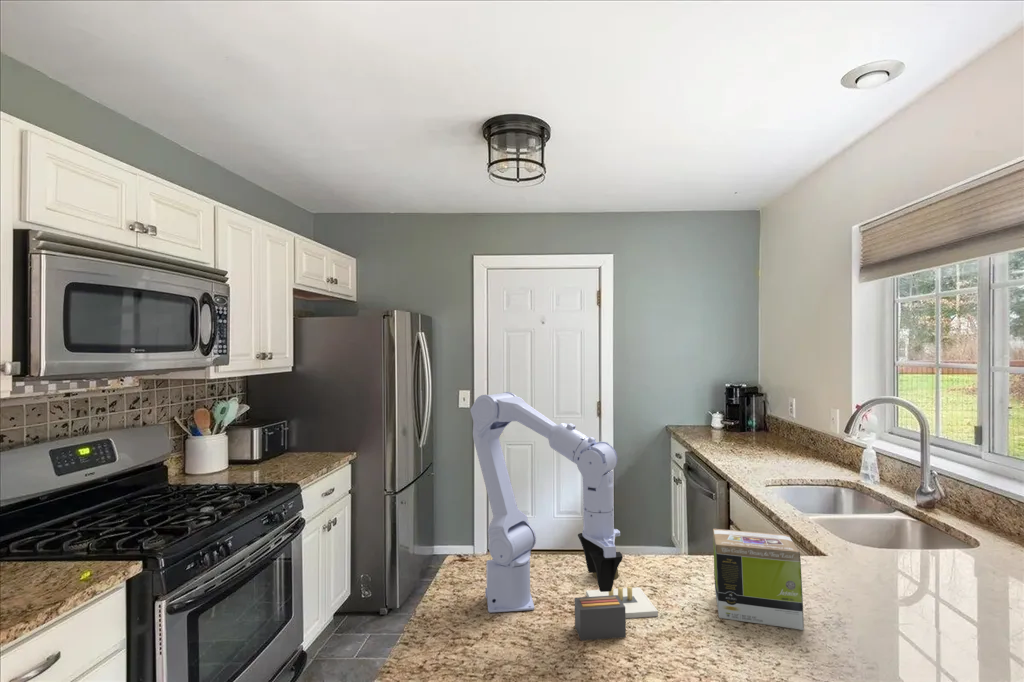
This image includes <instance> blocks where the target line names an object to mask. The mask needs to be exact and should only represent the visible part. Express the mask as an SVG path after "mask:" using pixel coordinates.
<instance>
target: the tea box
mask: <svg viewBox="0 0 1024 682" xmlns="http://www.w3.org/2000/svg"><path fill="white" fill-rule="evenodd" d="M712 547H713V549H712V550H713V569H714V571H713V575H714V577H713V578H714V591H715V592H714V593H715V594H714V595H715V598H716V605H717V607H716V608H717V614H718V618H719V619H725V620H732V621H738V622H739V621H740V622H745V623H753V624H760V625H765V626H766V625H767V626H775V627H780V628H788V629H793V630H799V631H800V630H801V631H803V630H805V623H804V622H805V621H804V619H805V618H804V603H803V601H804V600H803V599H804V598H803V579H802V564H801V563H802V562H801V552H800V551H799V549H798V548H797V546H796V544H795V543H794V541H793V540H792V538H791V536H790V535H789V534H783V533H768V532H757V531H747V530H746V531H745V530H732V529H722V528H720V529H719V528H713V529H712Z"/></svg>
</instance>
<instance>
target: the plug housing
mask: <svg viewBox="0 0 1024 682" xmlns="http://www.w3.org/2000/svg"><path fill="white" fill-rule="evenodd" d="M626 621H627V618H625V606H624V604H623V603H622V601H621V600H620V598H619V597H618V595H611V596H595V597H587V596H583V597H582V596H580V597H574V628H575V630H576V633H577V635H578V637H579V639H580V641H595V640H607V639H620V638H627V633H626V632H627V626H626Z"/></svg>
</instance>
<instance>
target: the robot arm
mask: <svg viewBox="0 0 1024 682" xmlns="http://www.w3.org/2000/svg"><path fill="white" fill-rule="evenodd" d="M469 411H470V414H471V419H472V422H473V424H472V426H473V427H472V438H473V439H472V440H473V443H474V446H475V450H476V454H477V459H478V461H479V465H480V469H481V473H482V477H483V482H484V485H485V489H486V493H487V498H488V500H489V504H490V509H491V513H492V516H493V517H492V519H491V522H490V524H489V525H488V529H487V533H488V539H489V540H488V551H489V555H490V557H491V558H492V559H488V560H486V565H485V566H486V567H485V569H486V573H485V574H486V576H485V577H486V587H485V589H484V590H485V598H486V602H487V612H488V613H490V614H491V613H501V612H502V613H503V612H504V613H506V612H519V611H520V612H521V611H533V610H535V603H534V601H533V597H532V593H531V561H530V560H531V555H532V549H534V547H535V545H536V542H537V535H536V533H535V529H534V528H533V526H532V525H531V524H530V522H529V520H528V515H527V514H526V513H524V512H523V511H521V510H520V509H519V507H518V504H517V499H516V497H515V493H514V489H513V486H512V482H511V477H510V475H509V470H508V467H507V464H506V460H505V455H504V453H503V449H502V445H501V442H500V441H501V440H500V437H501V435H502V433H503V432H504V430H505V428H506V427H507V426H509V424H510V423H512V422H517V423H520V424H522V425H523V426H525V427H526V428H529V429H530V430H532V431H534V432H535V433H537V434H539V435H541V436H543V437H545V438H546V439H547V440H548V444H549V446H550V448H551V449H552V450H554V451H556V452H557V453H558V454H560V455H561V456H563V457H565V458H566V459H568V460H569V461H571V462H573V463H574V464H575V465H576V466H577V469H578V471H579V473H580V474H581V477H582V497H583V498H582V504H583V505H582V510H583V511H582V512H583V513H582V515H583V516H582V518H583V519H582V520H583V522H582V523H583V528H582V532H579V533H578V534H577V537H578V538H579V541H580V543H581V546H582V549H583V553H584V558H585V563H586V568H587V570H588V571H587V572H588V573H589V574H593V573H596V574H597V578H596V580H597V587H598V590H600V592H608V591H611V590H612V588H614V587H613V586H614V582H615V580H614V578H615V574H616V570H617V568H618V569H619V566H620V563H621V562H622V561H623V556H624V555H623V554H622V553H621V551H617V547H616V544H615V542H616V540H615V537H616V538H617V537H621V531H620V530H619V529H617V528H615V520H614V519H615V518H614V517H615V514H614V513H615V511H614V509H615V508H614V504H615V501H614V499H615V498H614V471H613V470H614V469H615V468H616V467H617V465H618V454H617V451H616V450H615V448H614V447H613V446H612V445H611V444H610V443H608V442H607V441H597V440H596V438H595V437H593V436H587V435H586V434H584V433H583V432H581V431H579V430H577V428H576V424H573V423H572V422H570V423H566V422H561V423H559V424H557V423H555V422H554V421H553V420H551V419H550V418H548V417H547V416H546V415H544V414H543V413H541V412H540V411H538V410H537V409H535V408H534V407H532V405H530V404H529V403H527V402H526V401H525V400H524V399H523V398H522V397H521V396H517V395H516V394H515V393H513V392H509V391H504V392H502V393H493V394H482V395H479V396H478V397H477V398H476V399H475V400H474V403H473V404H472V405H471V407H470V410H469Z"/></svg>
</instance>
